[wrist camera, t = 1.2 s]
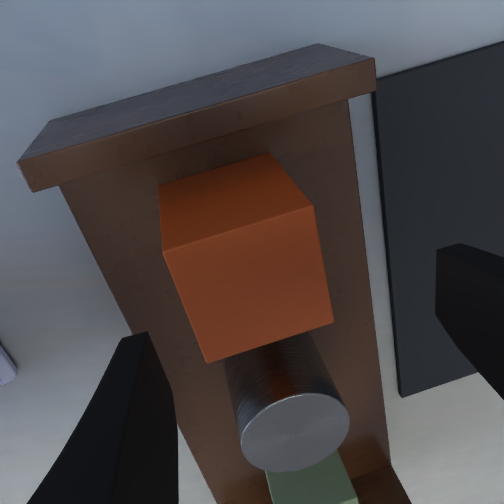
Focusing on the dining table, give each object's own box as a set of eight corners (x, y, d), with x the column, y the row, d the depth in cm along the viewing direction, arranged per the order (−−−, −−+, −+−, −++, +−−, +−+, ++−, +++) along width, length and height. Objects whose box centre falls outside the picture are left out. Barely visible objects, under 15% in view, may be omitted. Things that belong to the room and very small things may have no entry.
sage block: (273, 487, 27) (293, 565, 23) (258, 447, 25) (278, 525, 21) (335, 465, 27) (366, 539, 24) (326, 423, 25) (357, 497, 22)
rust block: (192, 279, 19) (206, 364, 15) (157, 185, 17) (161, 252, 12) (291, 248, 19) (335, 322, 15) (270, 151, 17) (314, 204, 13)
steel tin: (237, 405, 23) (255, 486, 19) (212, 340, 21) (228, 417, 17) (321, 377, 23) (356, 451, 20) (306, 309, 21) (343, 378, 17)
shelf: (224, 493, 31) (237, 576, 26) (48, 120, 17) (15, 162, 13) (375, 441, 31) (413, 513, 27) (318, 43, 18) (375, 57, 14)
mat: (398, 393, 29) (401, 398, 29) (370, 80, 19) (374, 82, 19) (539, 346, 30) (543, 350, 30) (584, 17, 20) (592, 17, 19)
